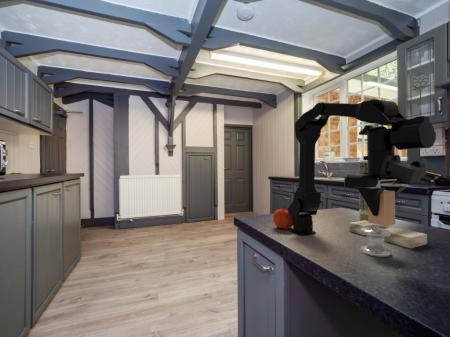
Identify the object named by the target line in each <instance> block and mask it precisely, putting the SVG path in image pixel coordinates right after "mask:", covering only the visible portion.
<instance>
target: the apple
mask: <svg viewBox="0 0 450 337" xmlns="http://www.w3.org/2000/svg"><path fill="white" fill-rule="evenodd" d="M272 221H273V224H274V225H275V226H276V227H277V228H279V229H285V230H288V229H290V228H291V229H292V228H293V216H292V215H289V213H288V209H285V207H284V206H282V208H279V209H277V210H275V211H274V212H273V215H272Z"/></svg>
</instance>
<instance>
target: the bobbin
mask: <svg viewBox="0 0 450 337" xmlns="http://www.w3.org/2000/svg"><path fill="white" fill-rule="evenodd" d="M361 233H362V234H365V236H366V245H361V246H360V252H361V253H362V254H364V255H367V256H371V257H375V258H389V257H391V256H392V251H391V250H390V249H389V248H386V247H385V241H384V237H390V236H391V232H390V231H389V230H386V229H381V228H374V227H364V228H361Z"/></svg>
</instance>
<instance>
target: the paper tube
mask: <svg viewBox="0 0 450 337" xmlns="http://www.w3.org/2000/svg"><path fill="white" fill-rule="evenodd" d="M358 165H359V168H358V170H359V171H358V172H359V174H358V175H364V172H368V167H367V160H360V161H359V164H358ZM377 179H378V178H377ZM358 192H359V191H358ZM358 195H359V221H368V205H367V203H366V202H365V200H364V198H363V197H362V195H361V193H360V192H359V194H358Z"/></svg>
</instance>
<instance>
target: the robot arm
mask: <svg viewBox="0 0 450 337" xmlns="http://www.w3.org/2000/svg"><path fill="white" fill-rule="evenodd" d="M331 116H333V117H344V118H345V117H346V118H353V119H355V120H357V121H361V122H364V123H366V125H365V126H364V127H363V128H362V129H361V130H360V131H359V132H358V135H360V136H366V145H367V146H366V150H367V153H366V154H367V155H364V156H363V157H362V158H363V160H362V161H367V167H368V172H364V175H359V174H346V176H345V177H344V179H343V180H344V187H350V188H351V187H352V188H353V187H354V189H355V190H358V192H360V193H361V195H362V197H363V198H364V200H365V202H366V203H367V205H368V207H369V209H370V211H371V213H372V214H373V216H378V213H379V204H380V194H381V193H382V192H383V191H384V190H389V191H395V201H396V200H397V197H398V195H399V193H401V192H402V191H404V190H405V189H407V188H408V186H402V185H409V186H413V185H415V186H416V185H418V183H420V181H421V179H422V176H423V177H424V176H426V175H427V171H426V170H427V168H426V164H425V163H426V162H424V161H420V160H413V161H412V162H410V163H408V162H402V161H401V156H400V155H399V154H396V152H395V151H396V150H400V151H405V150H407V151H409V150H421V149H430V148H433V146H434V145H435V142H436V138H437V132H436V131H435V128H434V126H433V124H432V123H431V122H430V117H429V116H427V115H419V116H416V117H414V118H413V117H412V118H408V119H407V118H406V116H404V115H403V114H402V112H400V108H399V106H398V105H397V102H395V101H391V100H383V99H376V98H373V99H372V98H371V99H367V100H362V101H360V102H356V103H347V102H346V103H343V102H342V103H341V102H340V103H339V102H337V103H336V102H325V101H324V102H323V101H320V102H317V103H316V104H315V105H314V106H313V107H312V108H310V109H309V110H307V111H306V112H304V113H302V115H301V116H300V117H299V118H298V119H297V121H295V124H294V133H295V134H294V135H295V138H296V141H298V143H299V168H298V169H299V170H298V171H299V172H298V173H299V177H298V180H299V181H298V184H299V185H298V187H297V189H296V190H295V192H294V194H293V201H292V202H291V204H290V205H289V207H287V210H288V213H289V215H292V216H293V226H292V228H291V229H290V228H289V232H290V233H291V232H292V233H295V234H297V235H300V236H306V235H312V234H317V232H316V231H315V230H314V221H313V216H316V215H317V214H318V210H319V208H320V205H321V204H322V201H321V197H322V193H321V191H318V190H317V188H316V187H315V178H316V177H315V174H316V173H315V171H316V170H315V168H316V144H317V142H318V141H319V139H320V137H321V134H322V129H323V128H324V127H325V126H326V125H327V124H328V121H329V119H330V117H331ZM367 124H371V125H367ZM372 124H374V125H378V126H374V127H373V126H372ZM386 126H387V127H386ZM388 126H389V127H391V128H388ZM395 149H396V150H395ZM377 178H378V179H377Z"/></svg>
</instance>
